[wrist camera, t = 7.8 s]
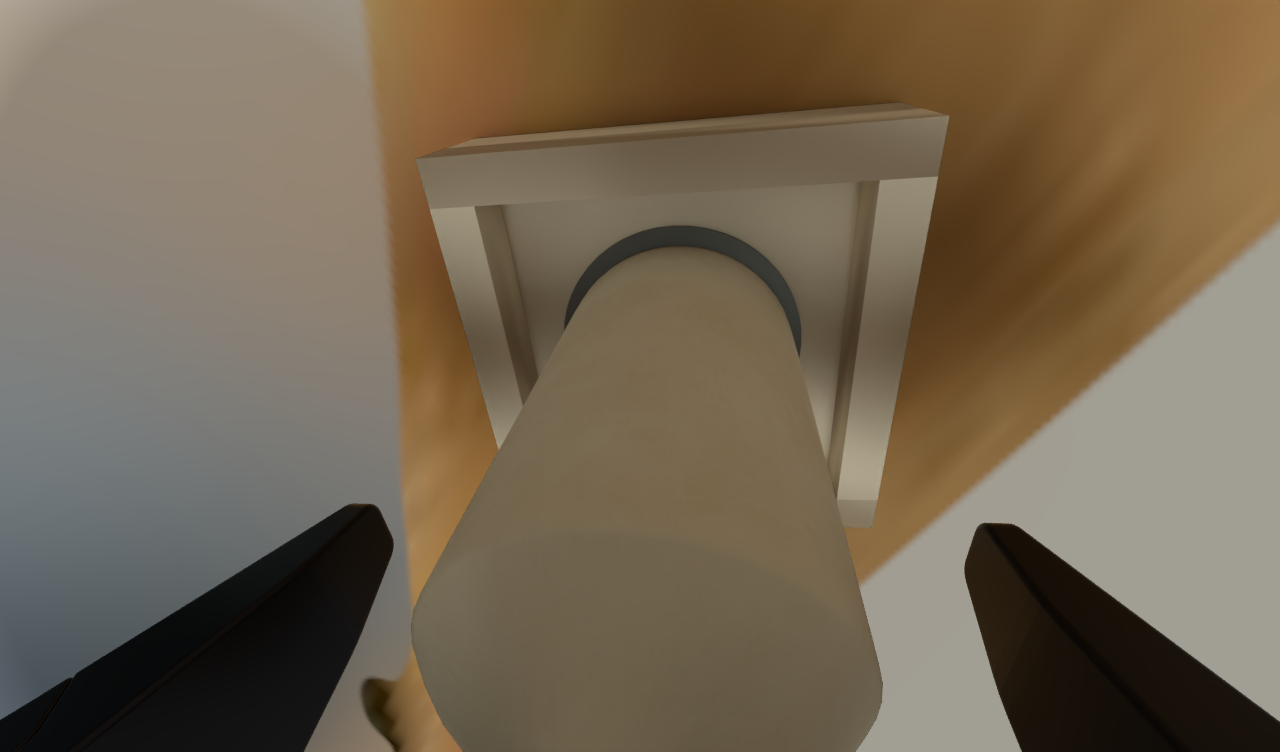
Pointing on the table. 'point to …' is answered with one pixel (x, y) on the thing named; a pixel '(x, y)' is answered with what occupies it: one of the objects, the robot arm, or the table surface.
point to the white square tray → (705, 246)
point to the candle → (655, 541)
